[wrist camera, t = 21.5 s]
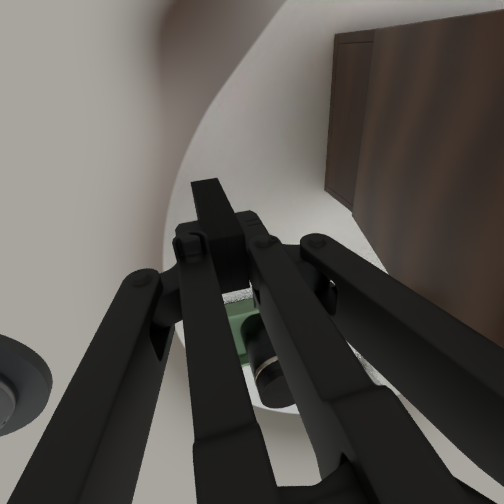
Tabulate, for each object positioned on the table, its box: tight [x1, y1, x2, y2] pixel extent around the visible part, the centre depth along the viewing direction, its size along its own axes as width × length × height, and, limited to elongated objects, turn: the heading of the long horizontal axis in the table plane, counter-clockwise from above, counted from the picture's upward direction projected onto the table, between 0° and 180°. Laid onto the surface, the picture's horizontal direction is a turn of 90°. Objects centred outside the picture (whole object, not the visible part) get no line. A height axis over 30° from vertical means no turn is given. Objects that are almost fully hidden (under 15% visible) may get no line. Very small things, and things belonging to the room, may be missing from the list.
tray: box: [225, 298, 260, 367], centre depth 46 cm, size 11×11×3 cm
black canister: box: [240, 313, 295, 408], centre depth 42 cm, size 7×7×11 cm
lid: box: [352, 9, 504, 348], centre depth 18 cm, size 20×16×1 cm
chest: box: [324, 29, 376, 212], centre depth 32 cm, size 20×16×7 cm
